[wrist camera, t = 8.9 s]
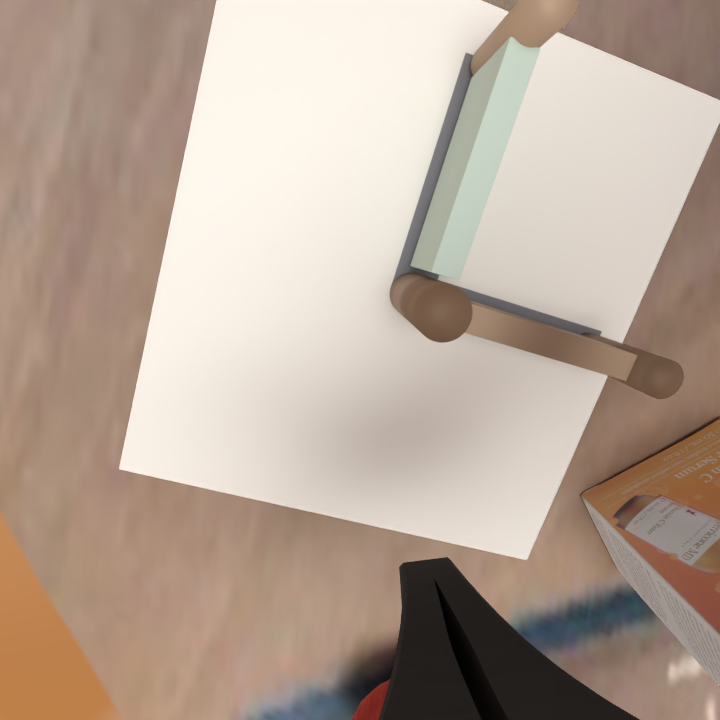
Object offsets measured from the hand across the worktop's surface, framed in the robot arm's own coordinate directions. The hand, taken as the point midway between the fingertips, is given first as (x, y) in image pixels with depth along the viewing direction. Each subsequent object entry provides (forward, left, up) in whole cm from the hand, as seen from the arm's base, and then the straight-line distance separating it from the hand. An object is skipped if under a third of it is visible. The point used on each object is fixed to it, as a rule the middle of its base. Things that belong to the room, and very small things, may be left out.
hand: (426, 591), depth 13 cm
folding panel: (+1, -12, -9) cm, 15 cm away
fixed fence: (-3, -7, -9) cm, 12 cm away
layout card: (+1, -7, -9) cm, 12 cm away
